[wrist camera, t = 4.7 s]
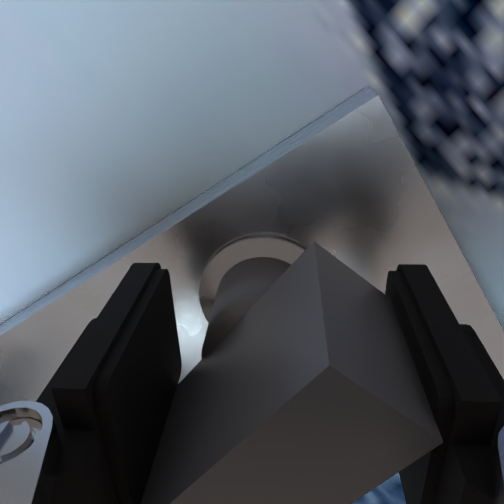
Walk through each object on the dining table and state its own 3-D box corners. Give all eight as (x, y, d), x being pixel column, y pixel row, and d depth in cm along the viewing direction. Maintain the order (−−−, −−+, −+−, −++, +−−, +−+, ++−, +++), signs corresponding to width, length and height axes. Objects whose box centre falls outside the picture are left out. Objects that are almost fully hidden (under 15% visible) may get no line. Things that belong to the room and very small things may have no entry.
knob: (298, 188, 11) (312, 378, 5) (378, 250, 11) (471, 483, 6) (165, 341, 13) (71, 587, 7) (236, 385, 14) (200, 645, 8)
